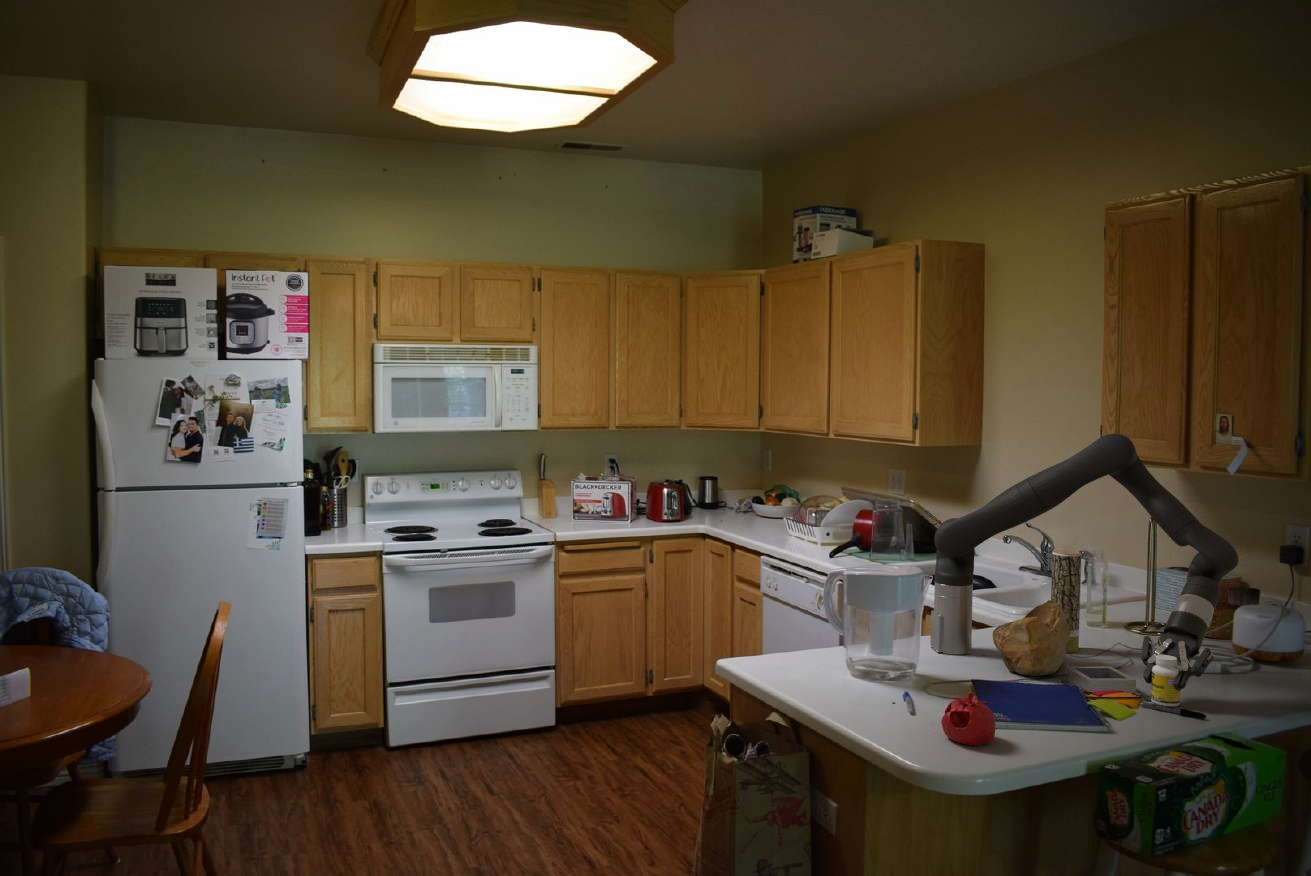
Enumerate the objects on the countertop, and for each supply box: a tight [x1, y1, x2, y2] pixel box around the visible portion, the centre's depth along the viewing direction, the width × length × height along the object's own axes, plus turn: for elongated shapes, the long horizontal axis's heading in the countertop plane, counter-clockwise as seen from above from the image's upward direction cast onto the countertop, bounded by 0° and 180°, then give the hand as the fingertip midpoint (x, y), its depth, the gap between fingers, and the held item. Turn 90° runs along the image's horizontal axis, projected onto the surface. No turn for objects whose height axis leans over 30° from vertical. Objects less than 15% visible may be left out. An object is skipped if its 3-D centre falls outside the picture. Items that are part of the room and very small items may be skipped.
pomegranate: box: [940, 690, 996, 747], centre depth 181 cm, size 10×10×9 cm
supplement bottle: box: [1150, 654, 1181, 707], centre depth 204 cm, size 5×5×10 cm
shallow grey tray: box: [1059, 665, 1142, 698], centre depth 214 cm, size 12×12×4 cm
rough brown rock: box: [992, 599, 1070, 677], centre depth 232 cm, size 23×17×15 cm
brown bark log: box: [1050, 549, 1082, 654], centre depth 246 cm, size 7×7×25 cm
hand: (1162, 684), depth 203 cm, fingers closed on supplement bottle, 5 cm apart
